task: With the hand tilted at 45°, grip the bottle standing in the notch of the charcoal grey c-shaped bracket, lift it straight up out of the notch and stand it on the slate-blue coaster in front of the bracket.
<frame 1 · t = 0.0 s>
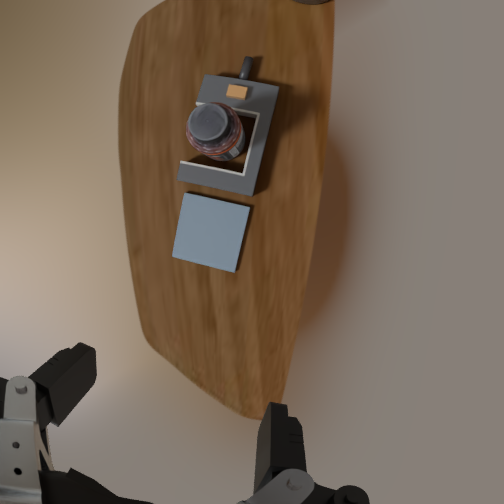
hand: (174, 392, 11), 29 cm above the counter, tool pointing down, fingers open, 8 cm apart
coaster: (210, 232, 39), on the counter
grey c-shaped bracket: (229, 134, 37), on the counter
supplement bottle: (224, 140, 37), on the counter
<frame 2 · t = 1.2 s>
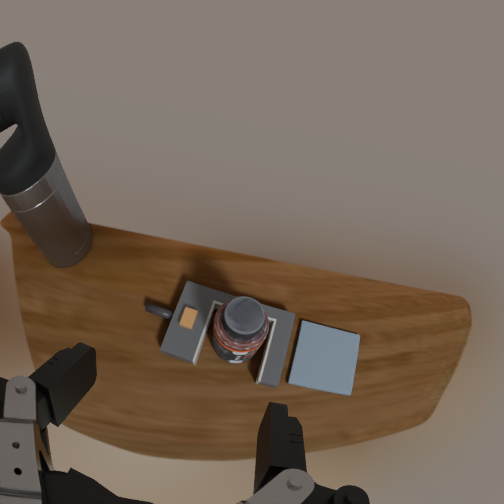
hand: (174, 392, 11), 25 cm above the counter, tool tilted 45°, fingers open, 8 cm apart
coaster: (325, 359, 37), on the counter
grey c-shaped bracket: (228, 336, 37), on the counter
supplement bottle: (235, 343, 37), on the counter
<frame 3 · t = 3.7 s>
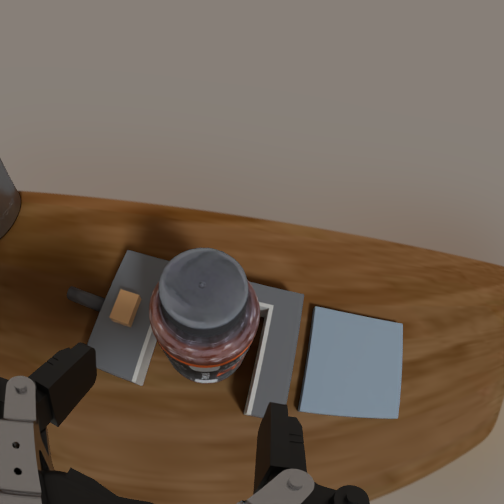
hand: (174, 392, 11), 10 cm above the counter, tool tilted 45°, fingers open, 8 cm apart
coaster: (355, 366, 22), on the counter
grey c-shaped bracket: (195, 338, 22), on the counter
supplement bottle: (206, 348, 22), on the counter
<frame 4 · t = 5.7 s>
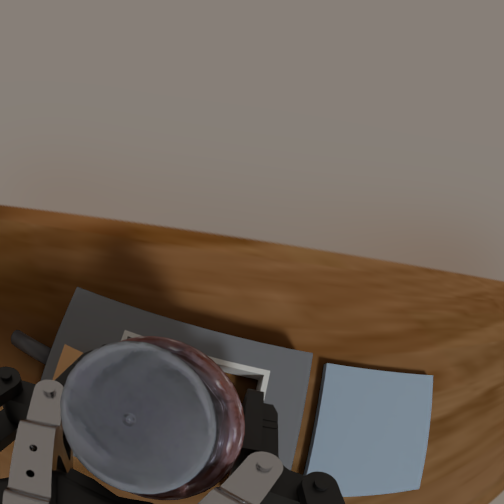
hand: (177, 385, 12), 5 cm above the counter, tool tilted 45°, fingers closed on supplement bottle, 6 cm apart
coaster: (374, 434, 15), on the counter
grey c-shaped bracket: (166, 407, 15), on the counter
supplement bottle: (180, 419, 15), on the counter, touching gripper
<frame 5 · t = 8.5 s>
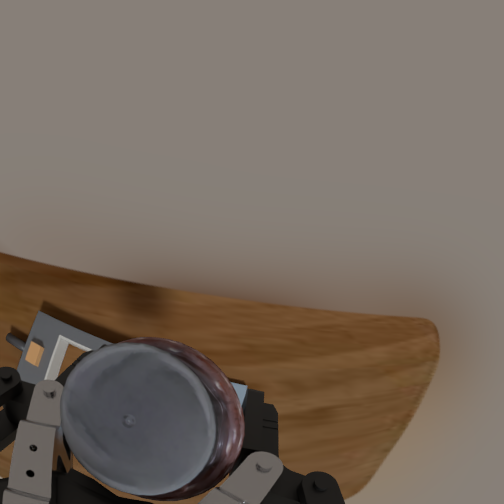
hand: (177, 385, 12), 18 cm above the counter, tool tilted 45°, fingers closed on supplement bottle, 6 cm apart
grey c-shaped bracket: (80, 377, 26), on the counter
supplement bottle: (180, 420, 15), point 13 cm above the counter, touching gripper
when the fingers open (6 cm above the counter, at t = 11.2 s): supplement bottle stays where it is, resting on coaster.
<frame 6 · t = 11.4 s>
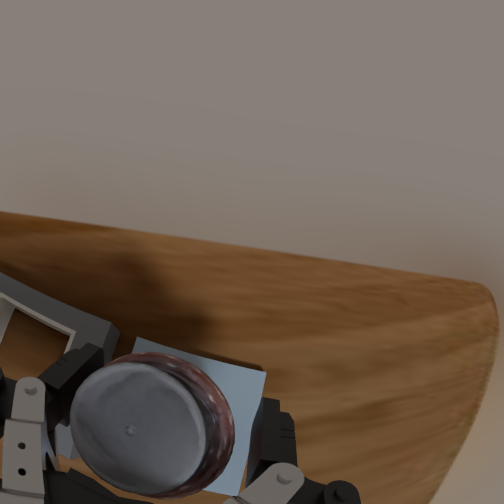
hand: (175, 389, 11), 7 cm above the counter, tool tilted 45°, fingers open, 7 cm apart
coaster: (183, 419, 16), on the counter
grey c-shaped bracket: (23, 355, 16), on the counter
supplement bottle: (179, 422, 16), resting on coaster
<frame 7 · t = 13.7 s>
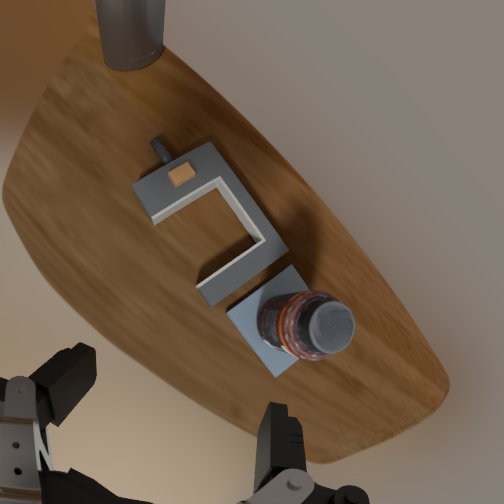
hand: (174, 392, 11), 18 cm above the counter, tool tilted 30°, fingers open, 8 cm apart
coaster: (282, 321, 32), on the counter
grey c-shaped bracket: (207, 222, 32), on the counter
supplement bottle: (281, 321, 31), resting on coaster
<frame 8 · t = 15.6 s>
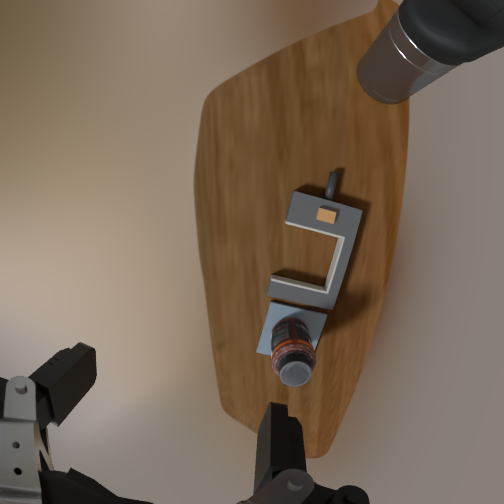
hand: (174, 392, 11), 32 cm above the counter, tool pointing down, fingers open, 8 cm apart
coaster: (291, 332, 45), on the counter
grey c-shaped bracket: (312, 250, 42), on the counter
supplement bottle: (289, 332, 44), resting on coaster
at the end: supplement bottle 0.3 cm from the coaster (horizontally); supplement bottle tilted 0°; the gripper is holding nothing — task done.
